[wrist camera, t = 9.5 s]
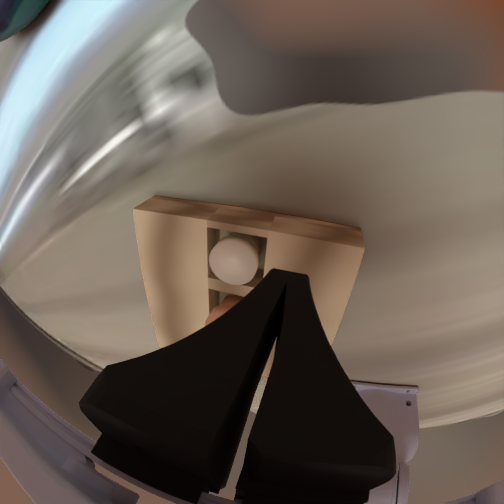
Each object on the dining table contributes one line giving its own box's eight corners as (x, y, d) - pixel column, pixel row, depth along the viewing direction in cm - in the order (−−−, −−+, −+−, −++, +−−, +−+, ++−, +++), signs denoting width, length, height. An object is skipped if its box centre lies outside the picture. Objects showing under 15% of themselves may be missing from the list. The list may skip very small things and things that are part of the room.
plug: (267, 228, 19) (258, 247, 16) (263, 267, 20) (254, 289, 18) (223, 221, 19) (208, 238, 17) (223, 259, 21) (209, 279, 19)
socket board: (360, 228, 18) (365, 248, 15) (316, 363, 26) (313, 386, 23) (154, 195, 21) (132, 208, 18) (171, 327, 29) (158, 346, 26)
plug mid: (257, 295, 20) (248, 320, 18) (254, 325, 22) (245, 349, 20) (217, 286, 21) (203, 309, 19) (218, 316, 23) (205, 339, 20)
